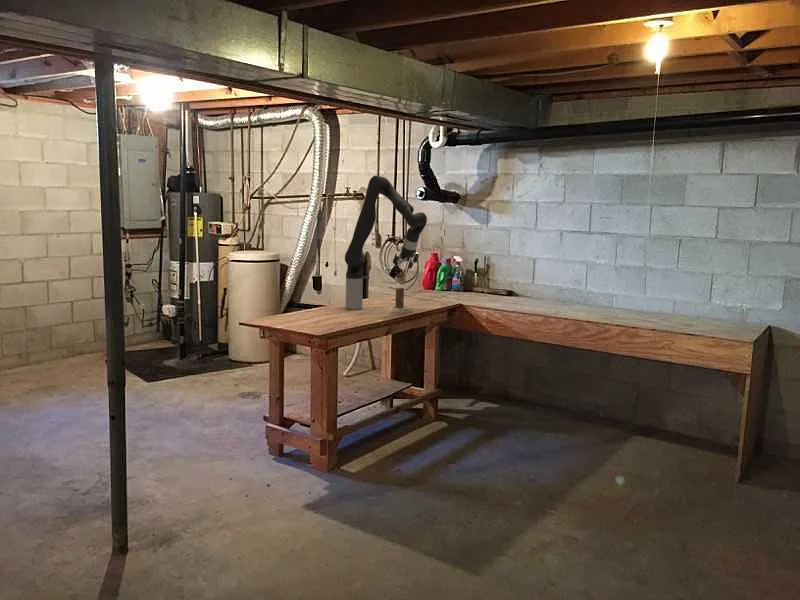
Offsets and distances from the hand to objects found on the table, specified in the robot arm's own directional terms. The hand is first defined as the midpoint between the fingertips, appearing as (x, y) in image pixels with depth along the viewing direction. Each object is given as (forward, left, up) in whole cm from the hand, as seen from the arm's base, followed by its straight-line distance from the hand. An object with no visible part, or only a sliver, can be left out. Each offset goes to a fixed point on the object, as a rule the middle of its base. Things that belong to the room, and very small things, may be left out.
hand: (402, 268), depth 369 cm
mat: (+2, 0, -23) cm, 23 cm away
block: (-1, +8, -23) cm, 24 cm away
